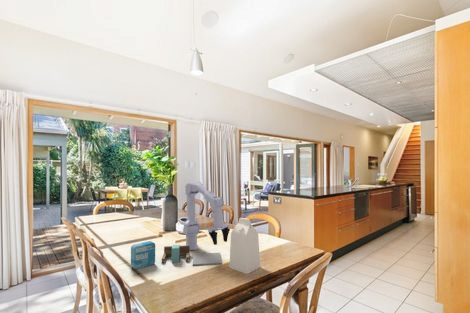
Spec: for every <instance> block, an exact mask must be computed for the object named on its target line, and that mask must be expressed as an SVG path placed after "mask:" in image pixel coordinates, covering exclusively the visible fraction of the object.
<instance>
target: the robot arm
mask: <svg viewBox="0 0 470 313" xmlns="http://www.w3.org/2000/svg"><path fill="white" fill-rule="evenodd" d="M185 184H186V185H185V187H184V188H185V195H186V208H187V209H186V211H187V213H186V214H187V215H186V216H187V220H186V221H185V222H184V223H183V228H182V232H183V234H184V235H185V245H190V251H198V247H199V246H198V235H199V233H200V227H201V226H200V224H199V223H200V222H199V221H198V220H196V202H195V200H196V199H195V198H196V195H197V194H199V193H200V194H201V195H202V196H203V198H204V200H205V201H207V203H209V206H210V208H211V209H210V210H211V212H212V217H213V218H212V219H213V227H209V228H208V229H207V232H208V235H209V236H210V238H211V240H212V243H213V245H215V246H217V245H218V231H221V234H222V236H223V237H222V239H223V242H225V243H227V242H228V237H229V233H230V231H231V229H230V224H225V223H224V214H223V213H224V211H223V206H224V204H225V202H224V199H223V198H222V197H219V196H217V195H216V194H215V193H213V191H212V190H211V191H210V190H209V191H208V190H207V189H206V187H205V186H204V184H203V183H202V182H201V181H197V182H195V181H194V182H186V183H185Z"/></svg>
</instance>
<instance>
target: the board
mask: <svg viewBox="0 0 470 313" xmlns="http://www.w3.org/2000/svg"><path fill="white" fill-rule="evenodd" d="M192 259H193V260H192V267H194V266H209V265H211V266H212V264H213V265H214V264H215V265H222V256H221V252H206V253H204V252H203V253H193V258H192Z"/></svg>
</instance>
